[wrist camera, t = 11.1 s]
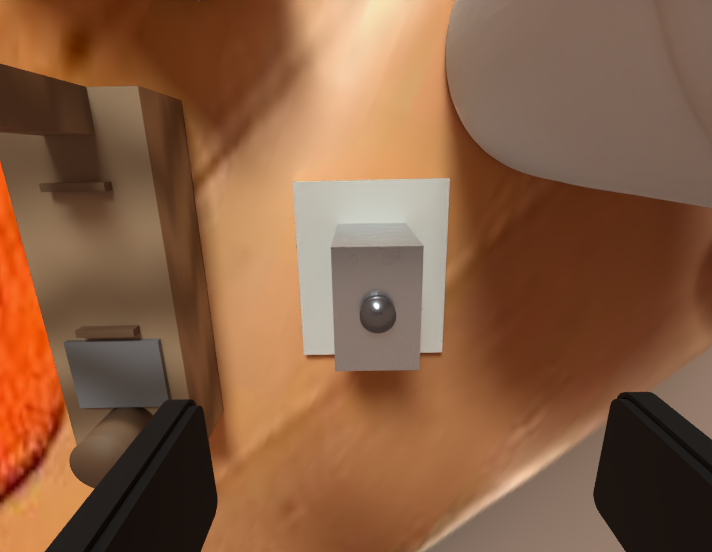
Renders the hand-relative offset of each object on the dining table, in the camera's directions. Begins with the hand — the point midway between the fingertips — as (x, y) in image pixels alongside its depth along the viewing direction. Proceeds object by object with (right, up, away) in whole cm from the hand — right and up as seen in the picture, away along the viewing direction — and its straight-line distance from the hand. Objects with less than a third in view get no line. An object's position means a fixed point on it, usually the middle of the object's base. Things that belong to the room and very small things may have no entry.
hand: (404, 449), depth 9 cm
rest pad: (0, +4, +15) cm, 16 cm away
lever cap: (0, +4, +15) cm, 16 cm away
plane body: (-14, +4, +16) cm, 21 cm away
